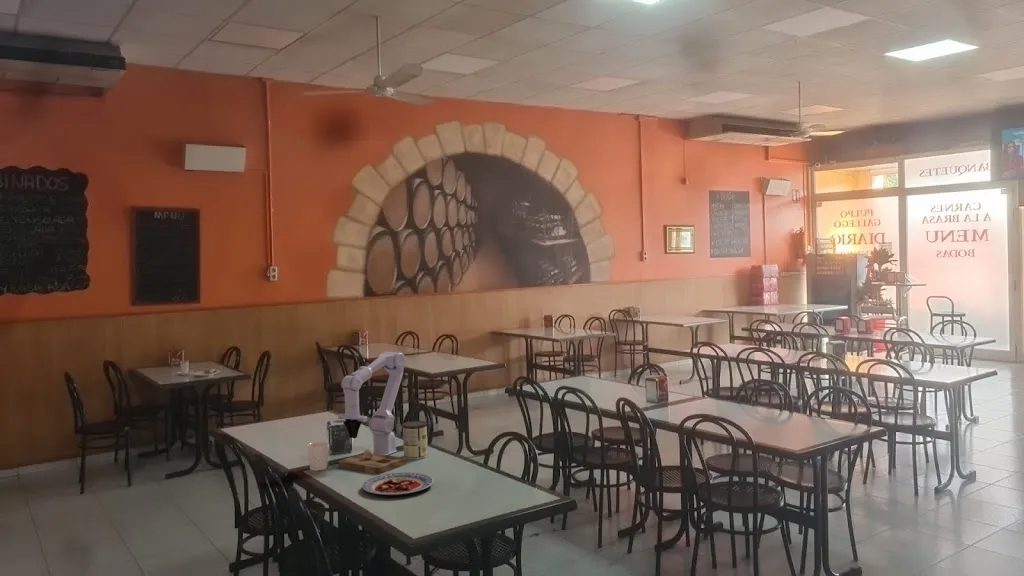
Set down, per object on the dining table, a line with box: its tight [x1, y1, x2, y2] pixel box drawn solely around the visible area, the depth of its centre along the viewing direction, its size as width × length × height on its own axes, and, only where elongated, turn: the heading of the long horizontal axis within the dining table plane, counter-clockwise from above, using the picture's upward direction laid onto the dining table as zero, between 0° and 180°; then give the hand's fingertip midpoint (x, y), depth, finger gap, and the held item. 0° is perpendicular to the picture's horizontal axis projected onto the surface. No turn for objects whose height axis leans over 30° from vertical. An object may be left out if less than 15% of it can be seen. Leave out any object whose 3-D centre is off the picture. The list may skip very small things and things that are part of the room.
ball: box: [362, 448, 374, 459], centre depth 308 cm, size 4×4×4 cm
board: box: [338, 452, 407, 475], centre depth 308 cm, size 16×22×2 cm
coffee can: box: [402, 420, 429, 461], centre depth 320 cm, size 10×10×14 cm
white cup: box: [307, 441, 329, 472], centre depth 305 cm, size 8×8×10 cm
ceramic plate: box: [362, 472, 435, 496], centre depth 277 cm, size 26×26×3 cm
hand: (353, 437), depth 312 cm, fingers closed
